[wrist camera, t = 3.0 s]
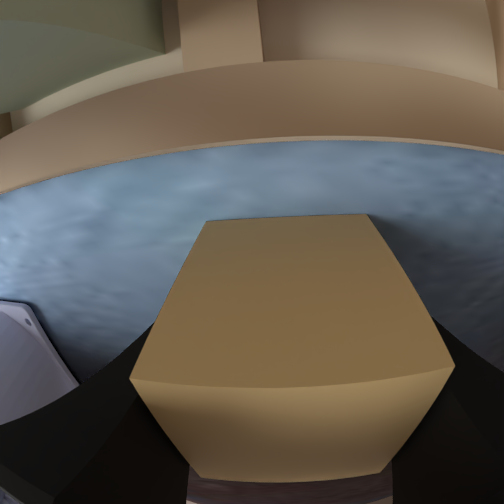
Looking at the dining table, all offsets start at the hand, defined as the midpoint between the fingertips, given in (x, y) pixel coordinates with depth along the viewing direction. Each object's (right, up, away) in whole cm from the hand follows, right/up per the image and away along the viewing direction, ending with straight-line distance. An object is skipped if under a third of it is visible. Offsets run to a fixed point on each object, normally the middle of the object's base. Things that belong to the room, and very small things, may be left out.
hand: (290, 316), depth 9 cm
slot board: (-6, +9, -3) cm, 11 cm away
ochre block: (0, +1, +1) cm, 2 cm away
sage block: (-6, +9, -4) cm, 11 cm away
